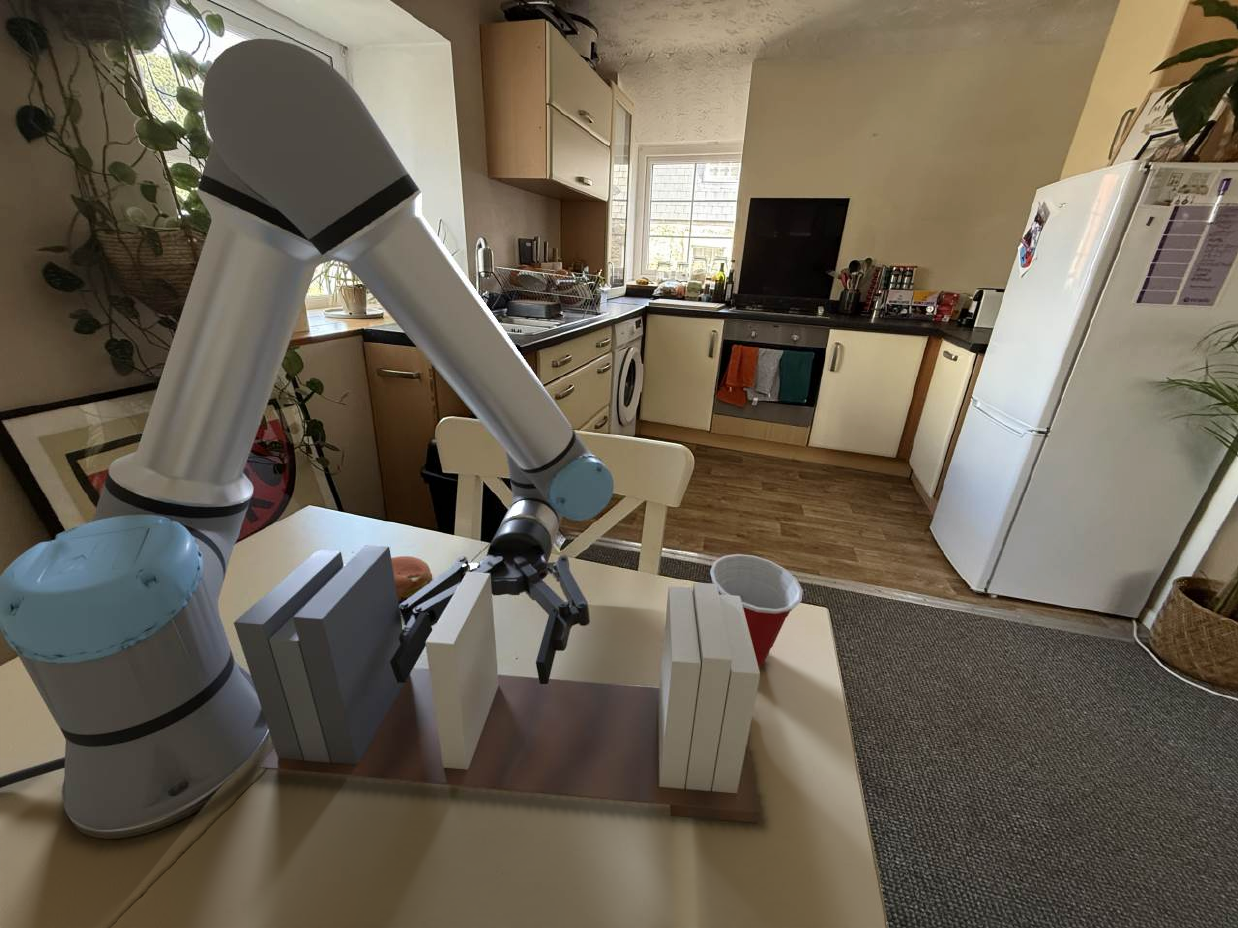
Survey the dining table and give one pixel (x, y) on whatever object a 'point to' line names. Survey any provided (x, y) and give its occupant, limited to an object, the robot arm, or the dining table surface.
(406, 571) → the burger
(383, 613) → the grey books
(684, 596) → the white books
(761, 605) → the plastic cup
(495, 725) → the shelf board
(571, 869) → the dining table surface
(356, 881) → the dining table surface
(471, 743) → the white book
